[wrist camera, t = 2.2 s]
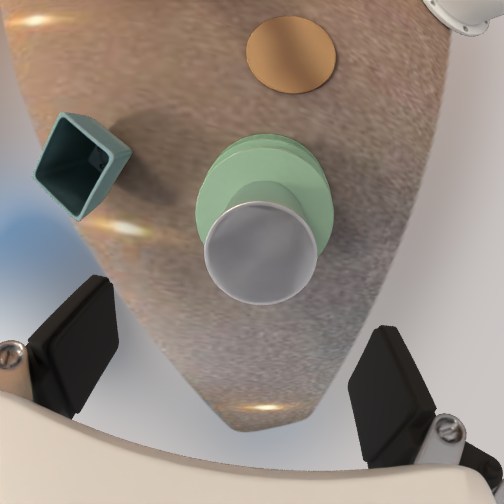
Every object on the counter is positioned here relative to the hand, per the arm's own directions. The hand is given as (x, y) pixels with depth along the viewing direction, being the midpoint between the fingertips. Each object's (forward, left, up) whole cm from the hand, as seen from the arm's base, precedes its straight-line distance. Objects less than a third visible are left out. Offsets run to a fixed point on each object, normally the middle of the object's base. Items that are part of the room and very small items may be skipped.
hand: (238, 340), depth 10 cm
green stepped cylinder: (0, +1, -26) cm, 26 cm away
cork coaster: (-12, -11, -26) cm, 31 cm away
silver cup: (0, +1, -16) cm, 16 cm away
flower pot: (+13, -15, -26) cm, 33 cm away
